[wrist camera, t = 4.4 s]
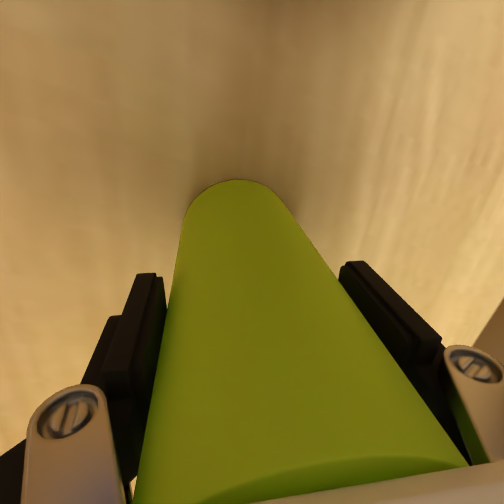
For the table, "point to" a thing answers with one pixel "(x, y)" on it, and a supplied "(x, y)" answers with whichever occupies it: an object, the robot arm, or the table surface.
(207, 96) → the table surface
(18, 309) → the table surface
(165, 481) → the soap dispenser
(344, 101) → the table surface
